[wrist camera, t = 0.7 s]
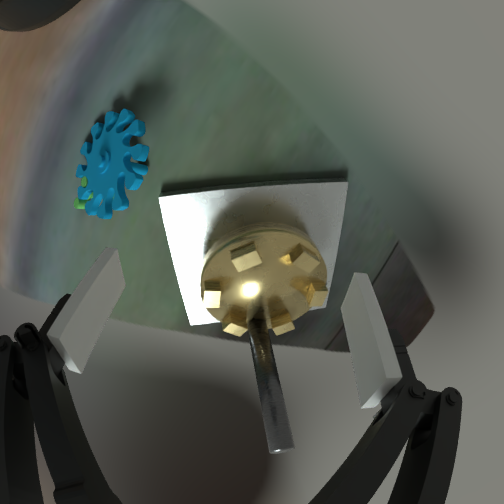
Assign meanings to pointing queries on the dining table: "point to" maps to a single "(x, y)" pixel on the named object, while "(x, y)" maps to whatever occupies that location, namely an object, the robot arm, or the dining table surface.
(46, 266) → the dining table surface
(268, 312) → the gold toothed rod mount
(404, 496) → the robot arm
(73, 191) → the dining table surface
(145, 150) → the gear
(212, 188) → the white square base plate
